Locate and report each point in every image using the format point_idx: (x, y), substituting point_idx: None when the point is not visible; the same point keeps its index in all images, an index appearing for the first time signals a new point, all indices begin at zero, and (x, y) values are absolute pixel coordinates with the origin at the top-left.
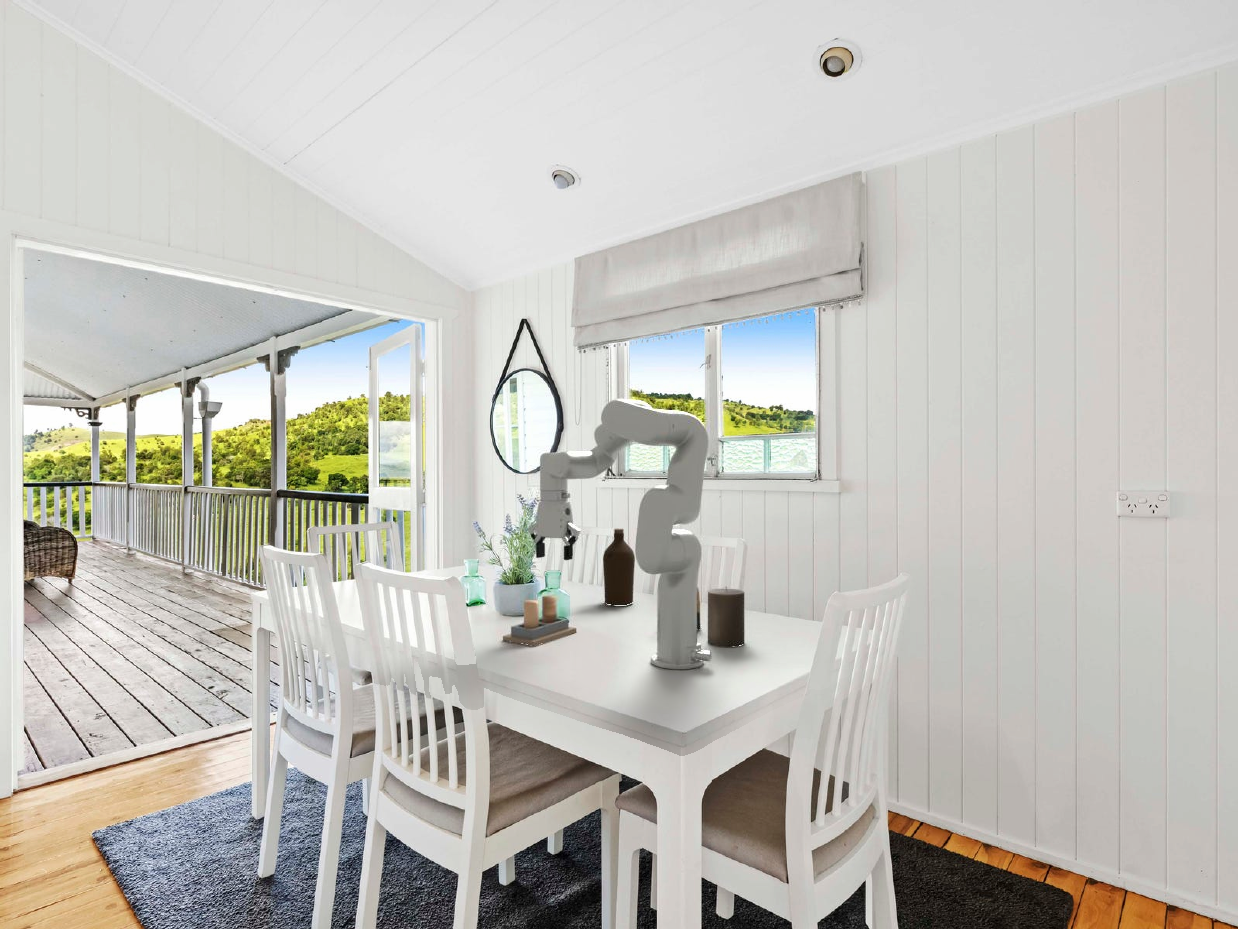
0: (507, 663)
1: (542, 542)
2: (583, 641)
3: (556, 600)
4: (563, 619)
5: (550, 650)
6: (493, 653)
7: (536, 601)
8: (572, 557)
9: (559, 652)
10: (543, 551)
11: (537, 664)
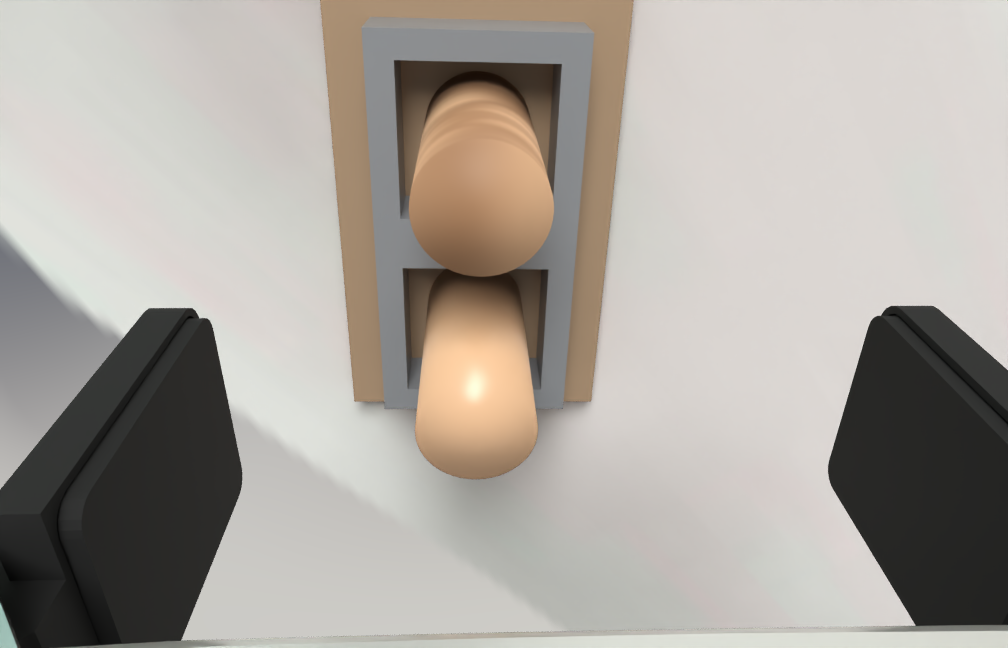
0: (637, 596)
1: (62, 606)
2: (786, 157)
3: (546, 173)
4: (560, 61)
5: (699, 392)
6: (489, 542)
7: (512, 413)
8: (940, 315)
9: (759, 395)
10: (182, 421)
11: (757, 555)
